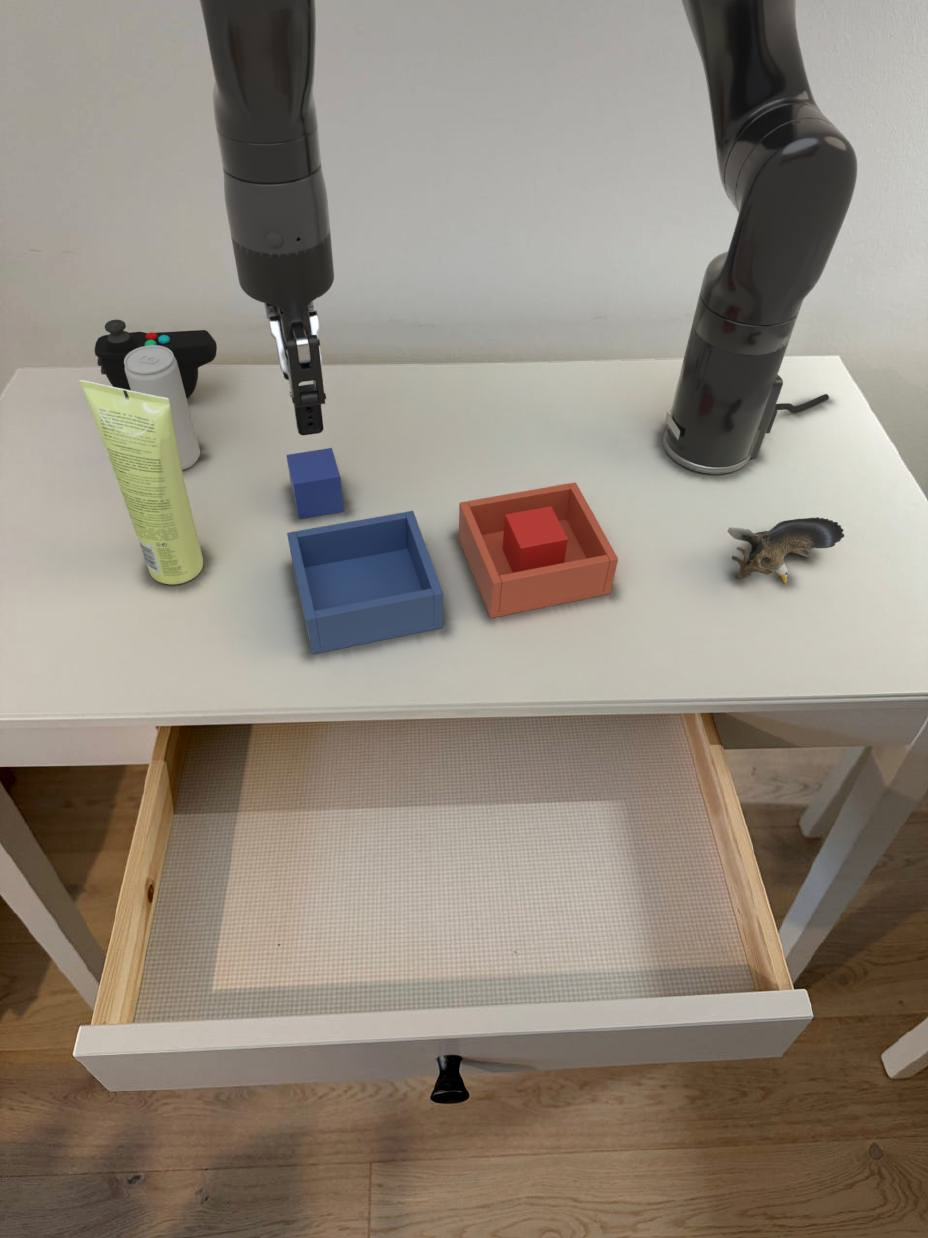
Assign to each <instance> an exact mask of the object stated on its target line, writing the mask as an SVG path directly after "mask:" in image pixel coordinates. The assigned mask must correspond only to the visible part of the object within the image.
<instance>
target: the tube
mask: <svg viewBox="0 0 928 1238" xmlns="http://www.w3.org/2000/svg"><path fill="white" fill-rule="evenodd" d="M79 384H80V386H81V389H82V392H83V394H84V397H85V399H86V402H87V404H88V407H89V409H90V412H91V415H92V417H93V419H94V423H95V425H96V427H97V430H98V432H99V433H98V434H99V435H100V439H101V441H102V444H103V446H104V448H105V451H106V454H107V457H108V460H109V462H110V465H111V467H112V471H113V474H114V475H115V478H116V481H117V484H118V487H119V490H120V492H121V495H122V498H123V500H124V503H125V507H126V509H127V511H128V514H129V518H130V521H131V524H132V526H133V529H134V532H135V534H136V537H137V541H138V543H139V545H140V546H139V547H140V549H141V553H142V555H143V559H144V561H145V563H146V567H147V569H148V572H149V574H150V576H151V578H152V579H154V580H155V581H156V582H159V583H161V584H166V585H181V584H184V583H187V582H190V581H191V580H193V579H195V578H196V577H197V576H198V575H199V574H200V573H201V571H202V569H203V567H204V557H203V553H202V549H201V544H200V541H199V536H198V532H197V529H196V524H195V521H194V515H193V512H192V508H191V503H190V500H189V494H188V491H187V485H186V482H185V481H186V480H185V476H184V473H183V470H182V467H181V462H180V458H179V453H178V448H177V443H176V438H175V433H174V427H173V422H172V415H171V406H170V401H169V398H165V397H160V396H154V395H150V394H145V393H140V392H135V391H130V390H125V389H121V388H116V387H113V386H112V385H107V384H102V383H97V382H95V381H89V380H85V379H79Z"/></svg>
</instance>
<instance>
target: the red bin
mask: <svg viewBox="0 0 928 1238" xmlns="http://www.w3.org/2000/svg"><path fill="white" fill-rule="evenodd" d="M550 506H551V507H552V509H553V511H554V513H555V515H556V517H557V519H558V521H559V522H560V524H561V526H562V528H563V530H564V532H565V534H566V536H567V538H568V542H567V549H566V555H565V561H564V563H561V564H556V565H551V566H546V567H540V568H535V569H530V570H525V571H520V572H515V573H513V572H512V570H511V567H510V565H509V563H508V561H507V558H506V556H505V554H504V551H503V536H504V524H505V515H506V514H511V513H517V512H522V511H528V510H533V509H539V508H544V507H550ZM457 536H458V540H459V543H460V545H461V548H462V550H463V554H464V555H465V559H466V560H467V563H468V566H469V568H470V570H471V573H472V575H473V578H474V580H475V584H476V586H477V588H478V591H479V593H480V595H481V598H482V601H483V603H484V605H485V608H486V611H487V613H488V615H489V618H490V619H492V618H497V617H502V616H503V617H504V616H508V615H513V614H518V613H522V612H527V611H531V610H536V609H541V608H547V607H552V606H556V605H562V604H566V603H571V602H575V601H576V602H577V601H582V600H586V599H591V598H596V597H600V596H606V595H610V594H611V593H612V588H613V584H614V580H615V574H616V570H617V568H618V567H617V566H618V562H619V557H618V556H617V553H615V551H614V548H613V547H612V545H611V543H610V541H609V540H608V538H607V536H606V534H605V532H604V531H603V528H602V527H601V525H600V523H599V522H598V519H597V518H596V516H595V514H594V512H593V511H592V509H591V507H590V505H589V503H588V502H587V499H586V498H585V495H584V494H583V493H582V491H581V489H580V487H579V485H578V483H577V482H576V481H575V482H569V483H563V484H558V485H552V486H547V487H540V488H535V489H528V490H522V491H518V492H517V491H516V492H511V493H505V494H500V495H494V496H487V497H483V498H476V499H471V500H467V501H462V502H459V505H458V535H457Z"/></svg>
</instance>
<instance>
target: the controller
mask: <svg viewBox="0 0 928 1238" xmlns="http://www.w3.org/2000/svg"><path fill="white" fill-rule="evenodd" d="M126 327H127V325H126V322H125V321H124V320H121V319H111V320H108V321H106V323H105V325H104V329H105V331H106V332H107V333H109V334H104V335H101V336H99V337H98V338H97V339H96V342H95V343H94V344H95V346H94V355H95V356H96V357H97V363H96V364H97V366H98V367H100V374H101V375H105V376H106V378H107V380H108V382H109V383H110V384H111V385H110V386H112V387H116V388H121V389H125V390H130V391H131V388H130V385H129V382H128V379H127V376H126V373H125V364H124V359H125V357H126V355H127V354H128V353H130V352H131V351H133V350H134V349H137V348H139V347H143V346H149V345H158V346H163V347H166V348H168V349H170V350H171V351H172V353H173V355H174V357H175V359H176V361H177V364H178V368H179V372H180V375H181V379H182V383H183V387H184V391H185V394H186V398H187V400H188V399H190V397H191V396H192V395H193V394H194V392H195V390H196V388H197V384H198V380H199V368H201V367H203V366H205V365H207V364H210V363H211V362H213V361H215V359H216V356H217V351H218V350H217V349H218V346H217V342H216V340H215V338H214V337H213V336H212V335H211V333H210V332H209V331H208V330H206V329H196V330H195V329H194V330H179V331H161V332H153V331H149V332H144V331H133V332H132V331H131V332H128V331H126Z"/></svg>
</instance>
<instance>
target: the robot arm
mask: <svg viewBox="0 0 928 1238" xmlns="http://www.w3.org/2000/svg"><path fill="white" fill-rule="evenodd" d="M680 1H681V4H682V7H683V10H684V13H685V16H686V20H687V22H688V26H689V28H690V31H691V35H692V37H693V39H694V42H695V45H696V48H697V51H698V53H699V57H700V60H701V63H702V67H703V72H704V75H705V80H706V81H705V82H706V88H707V92H708V100H709V107H710V114H711V121H712V129H713V136H714V145H715V152H716V161H717V168H718V174H719V178H720V181H721V184H722V185H721V186H722V187H723V191H724V192H725V195H726V196H727V198H728V199H729V201H730V203H731V204H732V205H733V208H735V210H736V211H737V213H738V215H737V219H736V223H735V227H734V231H733V234H732V237H731V240H730V244H729V247H728V250H727V251H725V252H722V253H719V254H718V255H716V256H715V257H714V258H712V260H711V261H709V263H708V264H707V267H706V269H705V271H704V275H703V278H702V281H701V286H700V291H699V295H698V298H697V303H696V307H695V311H694V315H693V319H692V323H691V327H690V331H689V335H688V340H687V344H686V348H685V352H684V356H683V360H682V364H681V368H680V373H679V375H678V379H677V380H678V381H677V385H676V389H675V393H674V397H673V401H672V405H671V410H670V413H669V412H668V411H667V412H666V416H665V423H666V427H665V430H664V434H663V438H662V444H663V448H664V450H665V452H666V453H667V455H668V456H669V457H670V458H671V459H672V460H673V461H674V462H676V463H677V464H678V465H680V466H682V467H684V468H686V469H689V470H691V471H694V472H698V473H703V474H709V475H723V474H730V473H733V472H736V471H738V470H740V469H741V468H744V467H745V466H746V465H747V464H748V462H749V461H750V460H751V459H756V458H758V455H759V454H760V451H761V448H762V445H763V443H764V439H765V436H766V434H770V433H771V431H772V428H773V425H774V422H775V420H776V417H777V414H778V411H782V410H783V411H788V412H789V413H799V412H803V411H805V410H809V409H811V408H813V407H815V406H817V405H819V404H822V403H824V402H826V401H828V400H829V399H830V396H829V395H828V394H827V393H824V394H822V395H819V396H817V397H815V398H813V399H811V400H809V401H806V402H804V403H801V404H797V405H793V404H792V403H789V402H788V403H787V402H783V403H782V402H780V403H778V400H779V396H780V394H781V392H782V389H783V386H784V381H783V378H782V377H781V376H780V375H779V372H780V369H781V366H782V363H783V360H784V358H785V354H786V352H787V348H788V346H789V343H790V339H791V337H792V334H793V331H794V328H795V325H796V322H797V319H798V316H799V314H800V311H801V308H802V305H803V303H804V300H805V299H806V297H807V296H808V295H809V294H810V293H811V291H812V290H813V289H814V288H815V287H816V285H817V284H818V282H819V280H820V279H821V277H822V275H823V274H824V270H825V268H826V266H827V264H828V262H829V261H828V260H829V259H830V256H831V254H832V251H833V248H834V246H835V244H836V241H837V239H838V236H839V234H840V231H841V229H842V227H843V225H844V222H845V219H846V216H847V214H848V211H849V209H850V205H851V202H852V200H853V196H854V193H855V188H856V183H857V179H858V157H857V153H856V151H855V149H854V147H853V145H852V143H851V142H850V140H849V139H847V137H846V136H845V135H844V133H842V132H841V131H840V130H839V129H838V128H837V126H836V125H834V124H833V122H832V121H831V120H829V118H828V117H826V115H824V113H823V112H822V111H821V109H820V108H819V106H818V105H817V102H816V101H815V98H814V95H813V92H812V88H811V85H810V83H809V78H808V74H807V71H806V67H805V63H804V58H803V55H802V50H801V49H802V48H801V45H800V41H799V35H798V29H797V18H796V3H797V2H796V1H797V0H680ZM199 5H200V9H201V14H202V18H203V23H204V29H205V33H206V38H207V45H208V50H209V54H210V55H209V56H210V61H211V65H212V72H213V76H214V77H213V78H214V81H215V82H214V85H213V90H212V106H213V116H214V123H215V124H214V125H215V128H216V135H217V141H218V147H219V152H220V153H219V154H220V158H221V164H222V173H223V187H224V188H223V191H224V203H225V208H226V209H225V210H226V215H227V221H228V225H229V232H230V236H231V237H230V238H231V243H232V250H233V255H234V260H235V266H236V272H237V273H236V274H237V278H238V283H239V286H240V288H241V290H242V291H243V292H244V293H245V294H246V295H247V296H249V297H250V298H251V299H253V300H255V301H257V302H260V303H263V304H264V309H265V313H266V314H265V315H266V319H267V320H268V325H269V330H270V335H271V337H272V338H273V339H274V341H275V345H276V350H277V357H278V362H279V367H280V370H281V372H282V375H283V378H284V379H285V380H287V381H288V383H289V389H290V390H289V396H290V398H291V401H292V402H291V403H292V404H293V407H294V408H293V409H294V416H295V422H296V423H295V424H296V428H297V432H298V435H300V436H310V435H311V436H312V435H316V434H321V433H322V432H323V431H324V421H323V419H324V418H323V411H322V405H325V404H326V400H327V395H326V392H325V388H324V379H323V369H322V366H323V363H324V362H323V357H322V356H323V355H322V350H321V341H320V338H319V331H320V330H321V329H320V328H321V327H320V326H321V325H320V319H319V315H318V310H317V309H314V308H315V307H314V301H315V300H317V299H318V298H320V297H322V296H324V295H325V294H326V293H327V292H328V291H329V290H330V289H331V287H332V286H333V284H334V280H335V269H334V258H333V247H332V236H331V235H332V234H331V224H330V223H331V222H330V210H329V199H328V192H327V187H326V181H325V178H324V174H323V168H322V159H321V147H320V138H319V136H320V135H319V124H318V117H317V109H316V103H315V97H314V95H315V94H314V85H315V84H314V83H315V82H314V81H315V67H316V41H317V39H316V37H317V36H316V34H317V30H316V29H317V27H316V26H317V18H316V17H317V16H316V0H199ZM304 382H312V383H309V384H301V383H304ZM300 384H301V385H300Z"/></svg>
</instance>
